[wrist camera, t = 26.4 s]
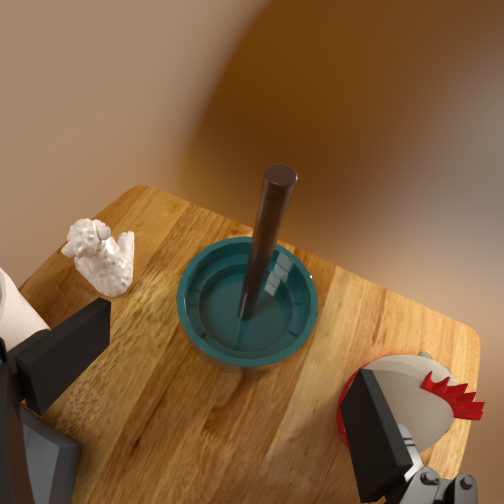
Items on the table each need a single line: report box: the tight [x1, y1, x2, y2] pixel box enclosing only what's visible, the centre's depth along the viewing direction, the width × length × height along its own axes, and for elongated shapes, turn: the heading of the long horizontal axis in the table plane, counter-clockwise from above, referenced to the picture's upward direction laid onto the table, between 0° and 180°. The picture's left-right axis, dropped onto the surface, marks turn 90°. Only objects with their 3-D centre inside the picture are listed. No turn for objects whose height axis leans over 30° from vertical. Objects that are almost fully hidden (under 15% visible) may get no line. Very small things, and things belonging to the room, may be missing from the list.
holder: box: [22, 407, 83, 504], centre depth 18 cm, size 11×11×6 cm
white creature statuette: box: [61, 218, 135, 297], centre depth 31 cm, size 10×9×12 cm
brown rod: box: [237, 164, 297, 321], centre depth 25 cm, size 2×2×22 cm
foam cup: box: [0, 268, 52, 352], centre depth 23 cm, size 10×9×13 cm
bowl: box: [176, 236, 317, 375], centre depth 32 cm, size 15×15×6 cm
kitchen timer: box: [337, 351, 485, 453], centre depth 23 cm, size 14×14×15 cm
